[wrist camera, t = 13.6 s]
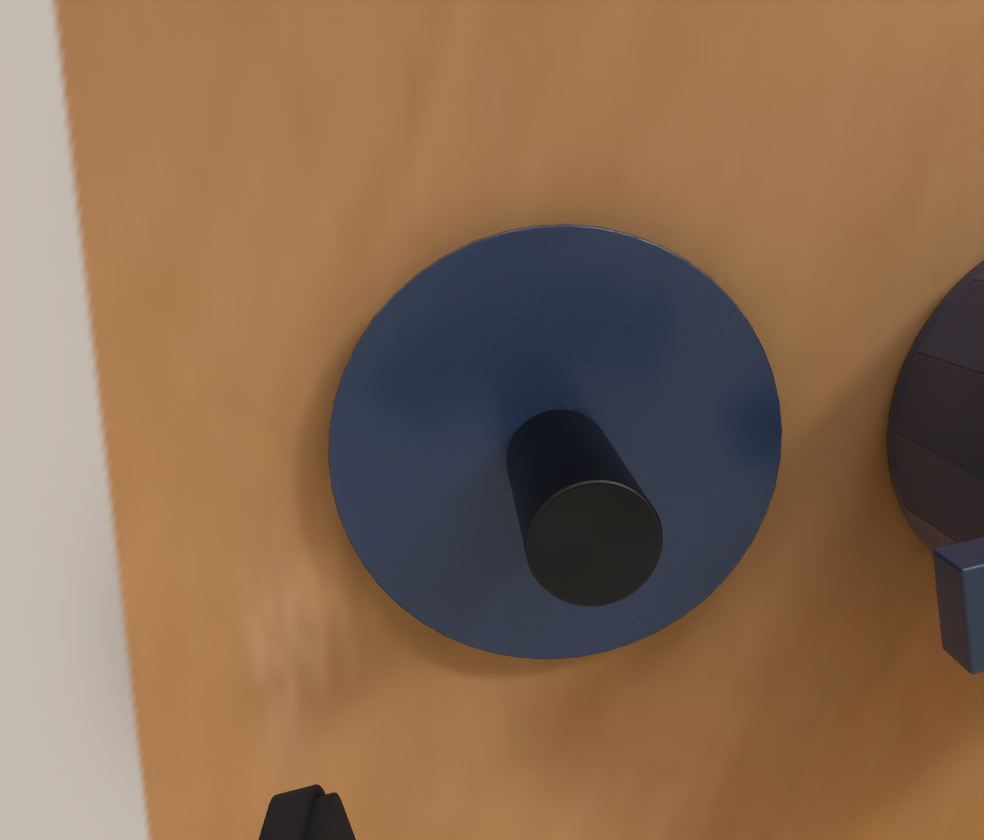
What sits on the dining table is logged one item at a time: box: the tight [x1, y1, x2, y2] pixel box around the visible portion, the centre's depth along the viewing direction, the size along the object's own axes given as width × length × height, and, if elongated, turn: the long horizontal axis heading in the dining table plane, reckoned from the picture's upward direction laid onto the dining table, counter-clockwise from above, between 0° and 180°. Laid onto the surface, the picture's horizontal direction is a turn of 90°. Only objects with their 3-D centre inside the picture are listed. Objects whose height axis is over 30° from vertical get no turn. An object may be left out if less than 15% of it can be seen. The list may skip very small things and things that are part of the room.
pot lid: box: [328, 224, 782, 659], centre depth 19 cm, size 12×12×7 cm
